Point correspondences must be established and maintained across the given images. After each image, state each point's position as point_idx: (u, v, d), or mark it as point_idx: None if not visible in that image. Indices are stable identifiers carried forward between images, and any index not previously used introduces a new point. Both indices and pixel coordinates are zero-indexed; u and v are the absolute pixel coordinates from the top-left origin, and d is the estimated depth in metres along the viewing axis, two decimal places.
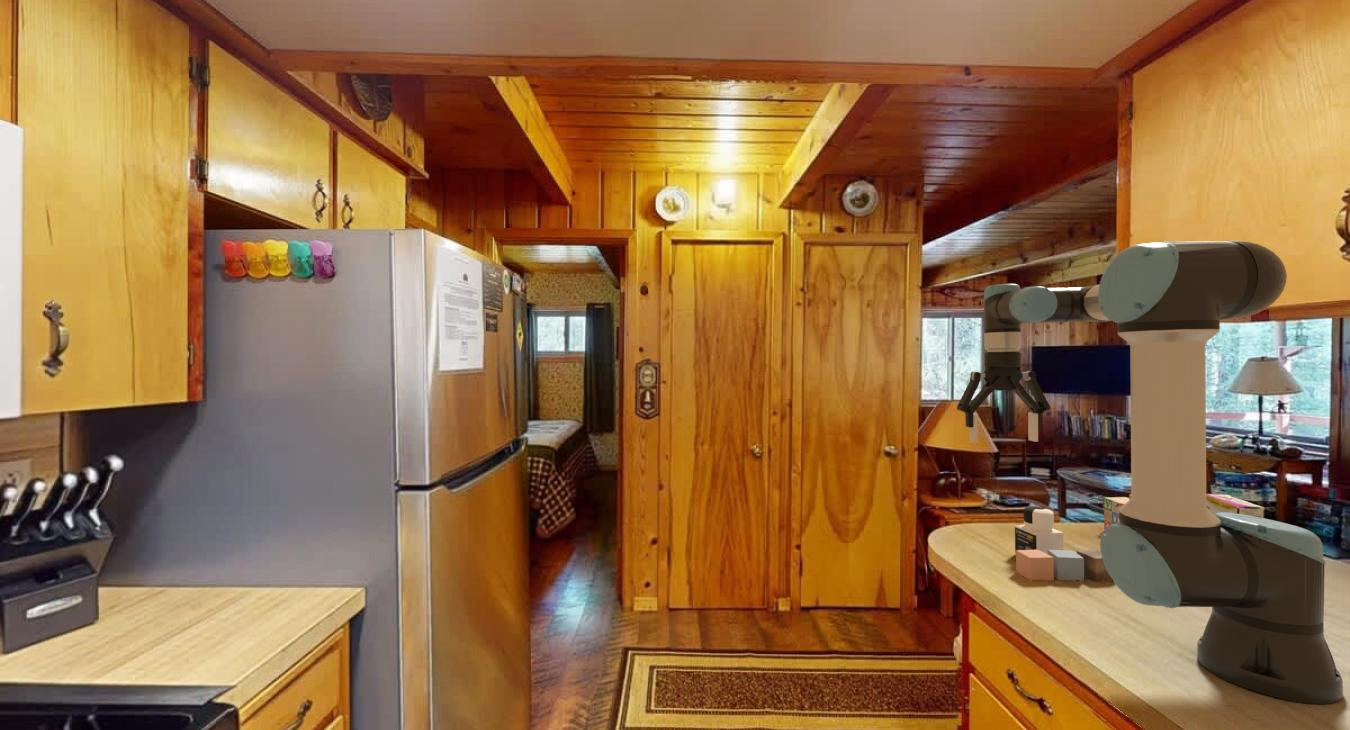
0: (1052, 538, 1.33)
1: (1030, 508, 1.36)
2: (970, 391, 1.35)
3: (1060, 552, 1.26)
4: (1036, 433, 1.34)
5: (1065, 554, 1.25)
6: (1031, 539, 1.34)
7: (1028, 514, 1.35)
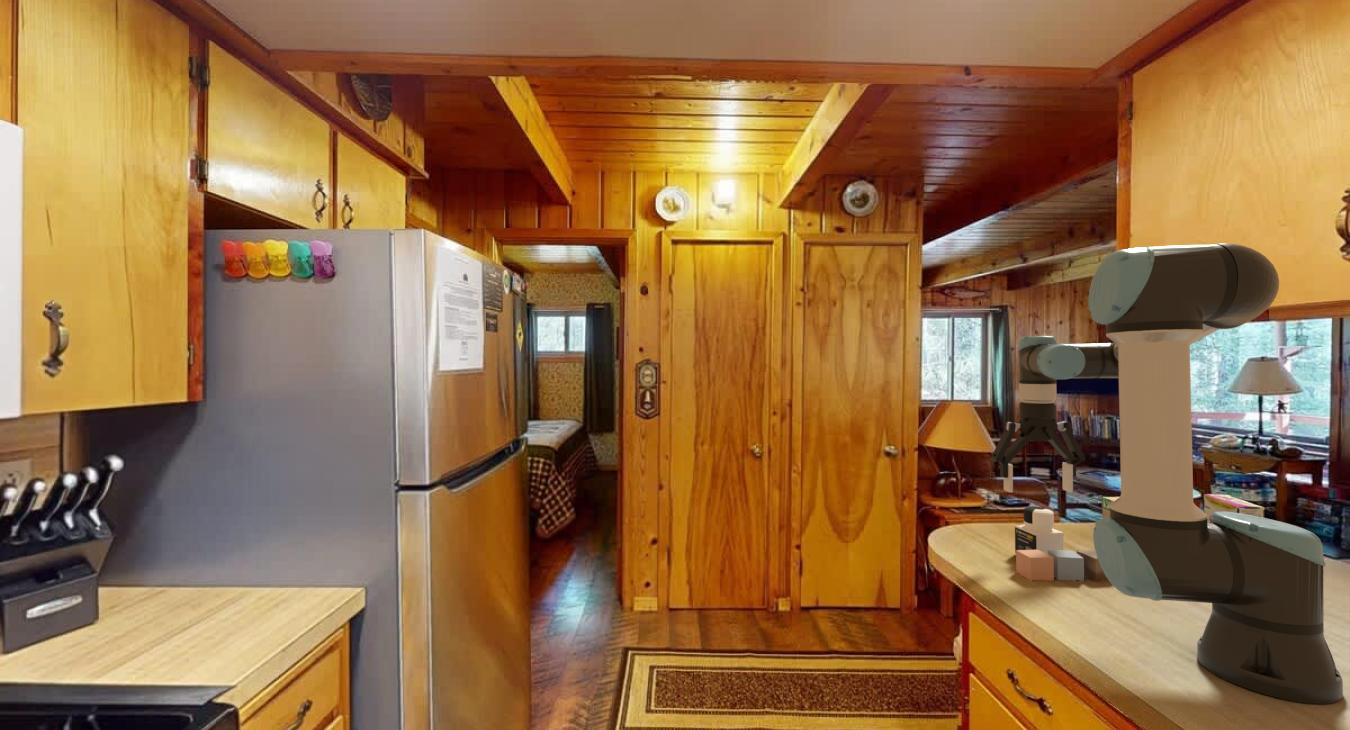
0: (1052, 538, 1.33)
1: (1030, 508, 1.36)
2: (1005, 442, 1.35)
3: (1060, 552, 1.26)
4: (1071, 484, 1.35)
5: (1065, 554, 1.25)
6: (1031, 539, 1.34)
7: (1028, 514, 1.35)
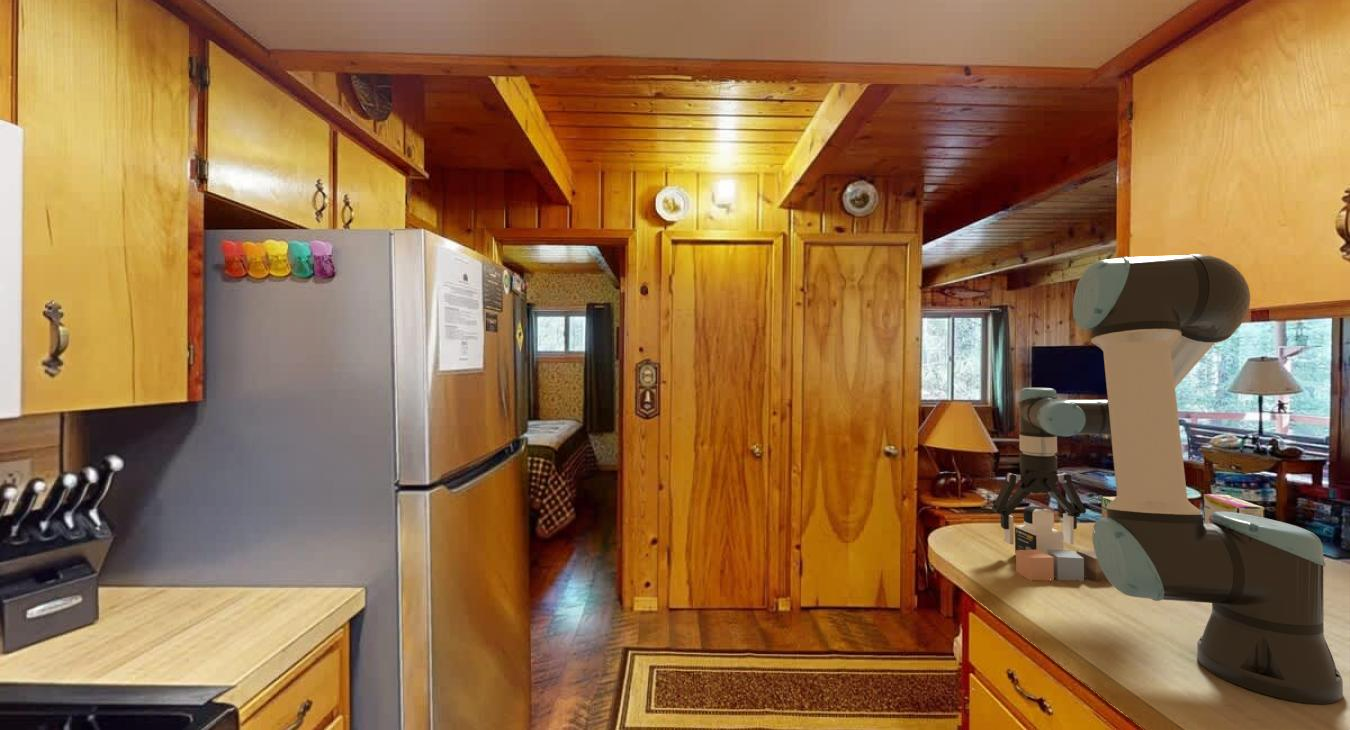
0: (1052, 538, 1.33)
1: (1030, 508, 1.36)
2: (1006, 494, 1.35)
3: (1060, 552, 1.26)
4: (1072, 536, 1.35)
5: (1065, 554, 1.25)
6: (1031, 539, 1.34)
7: (1028, 514, 1.35)
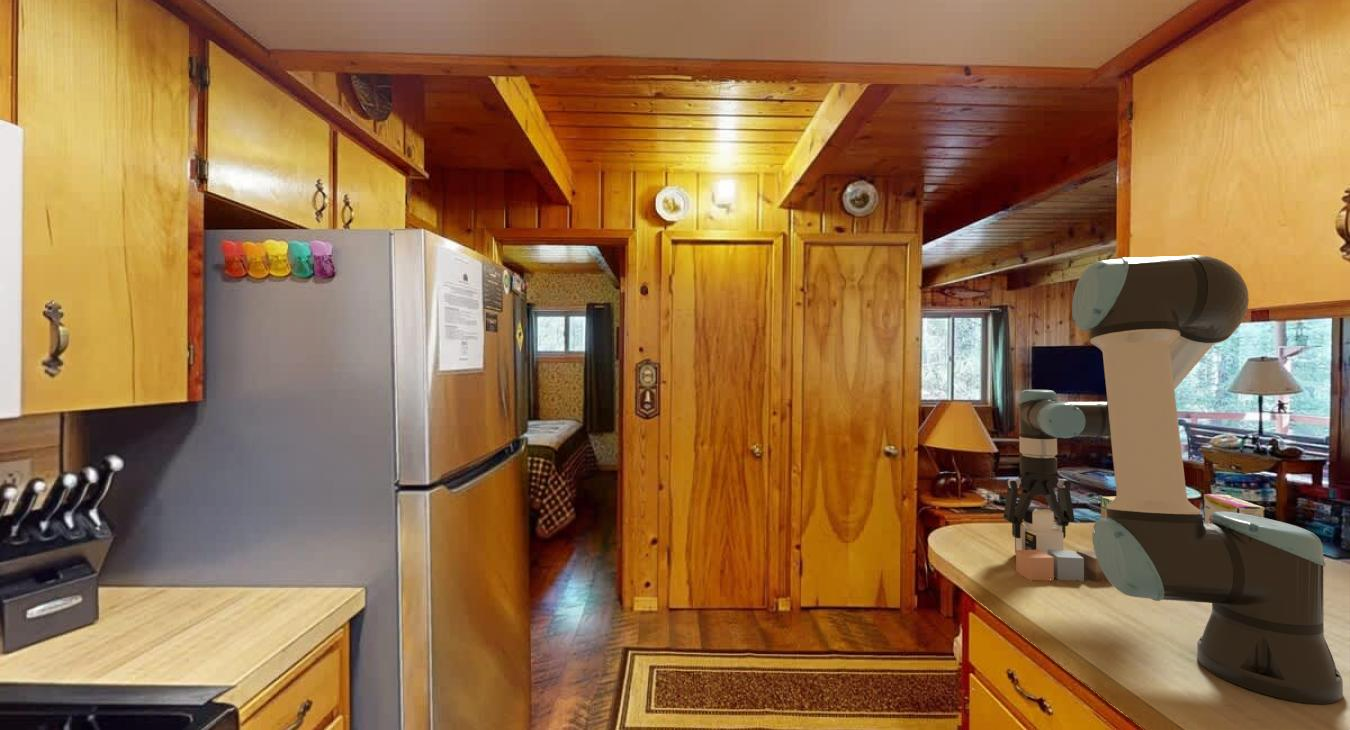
0: (1052, 538, 1.33)
1: (1030, 508, 1.36)
2: (1012, 501, 1.35)
3: (1060, 552, 1.26)
4: None
5: (1065, 554, 1.25)
6: (1031, 539, 1.34)
7: (1028, 514, 1.35)
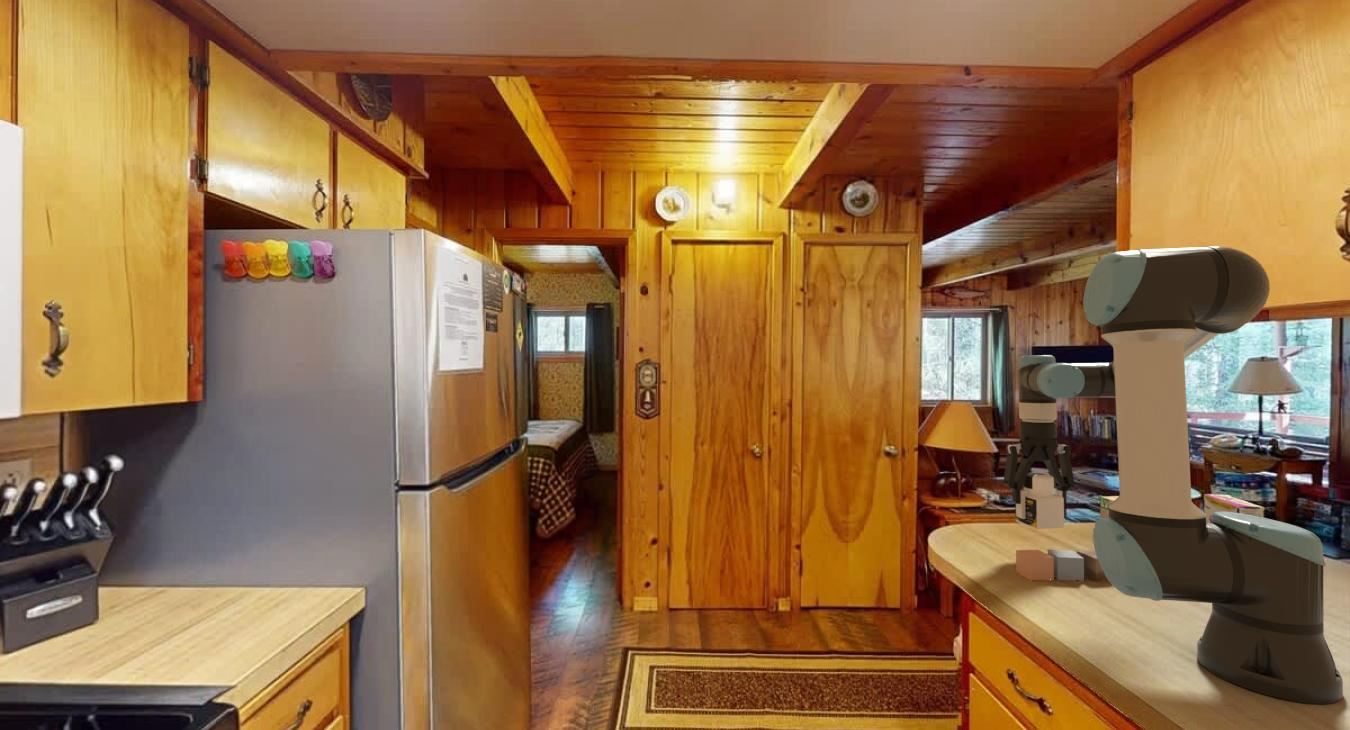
0: (1053, 503, 1.32)
1: (1030, 474, 1.36)
2: (1012, 466, 1.35)
3: (1060, 552, 1.26)
4: None
5: (1065, 554, 1.25)
6: (1031, 504, 1.33)
7: (1028, 480, 1.35)
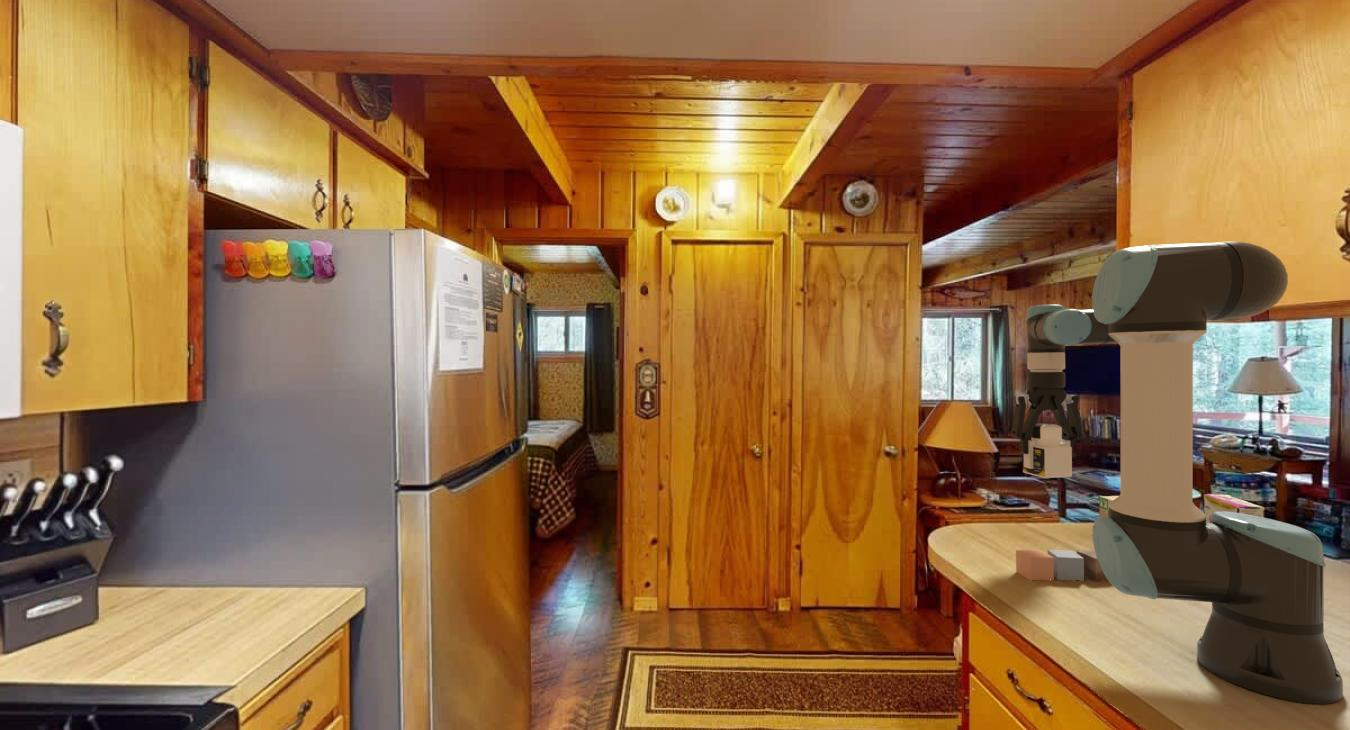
0: (1061, 452, 1.32)
1: (1038, 424, 1.36)
2: (1020, 417, 1.35)
3: (1060, 552, 1.26)
4: None
5: (1065, 554, 1.25)
6: (1039, 453, 1.33)
7: (1036, 430, 1.35)
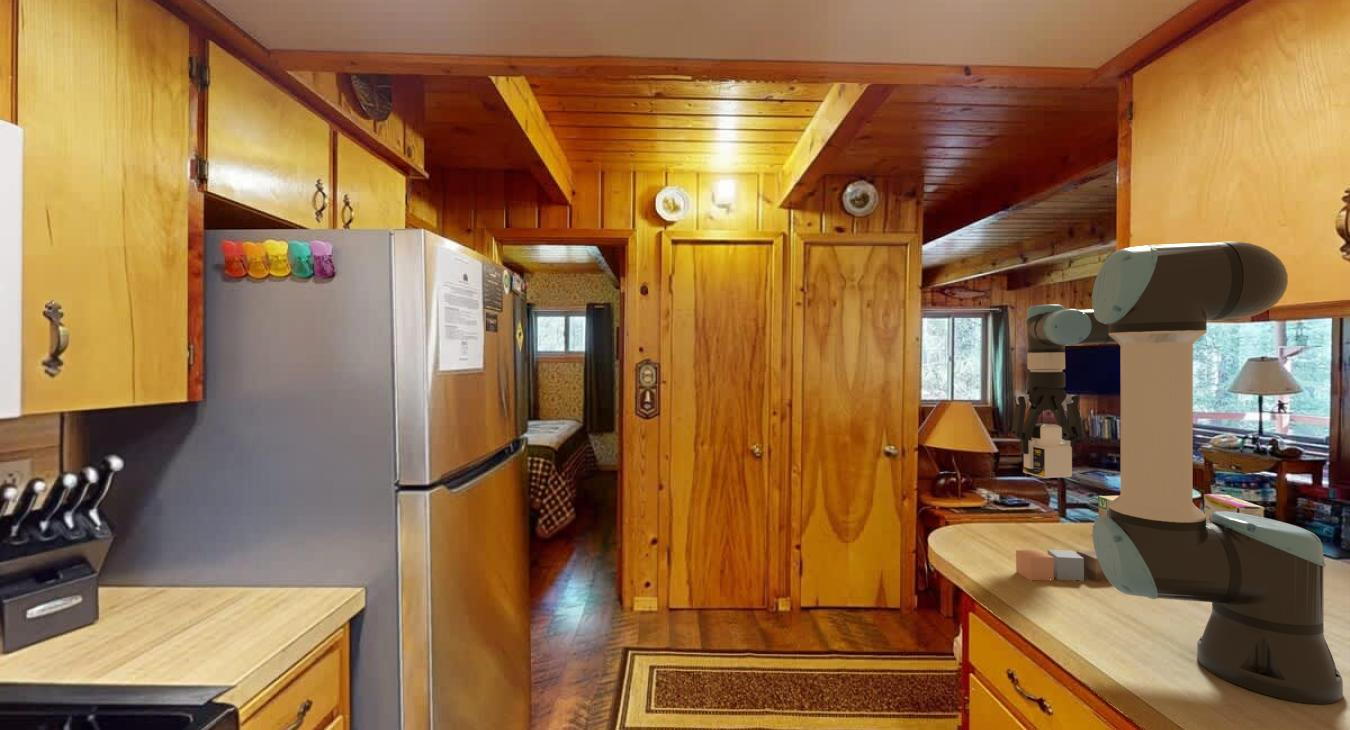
0: (1061, 452, 1.32)
1: (1038, 424, 1.36)
2: (1020, 417, 1.35)
3: (1060, 552, 1.26)
4: None
5: (1065, 554, 1.25)
6: (1039, 453, 1.33)
7: (1036, 430, 1.35)
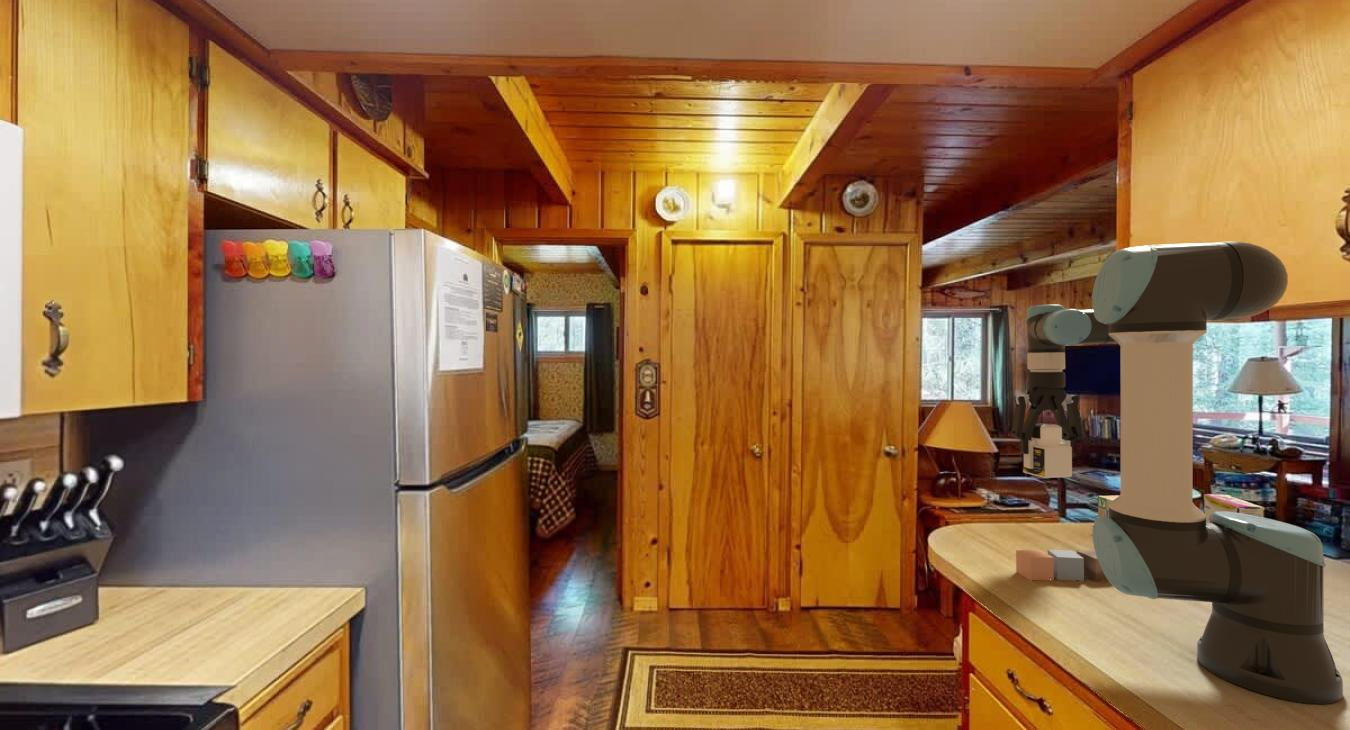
0: (1061, 452, 1.32)
1: (1038, 424, 1.36)
2: (1020, 417, 1.35)
3: (1060, 552, 1.26)
4: None
5: (1065, 554, 1.25)
6: (1039, 453, 1.33)
7: (1036, 430, 1.35)
